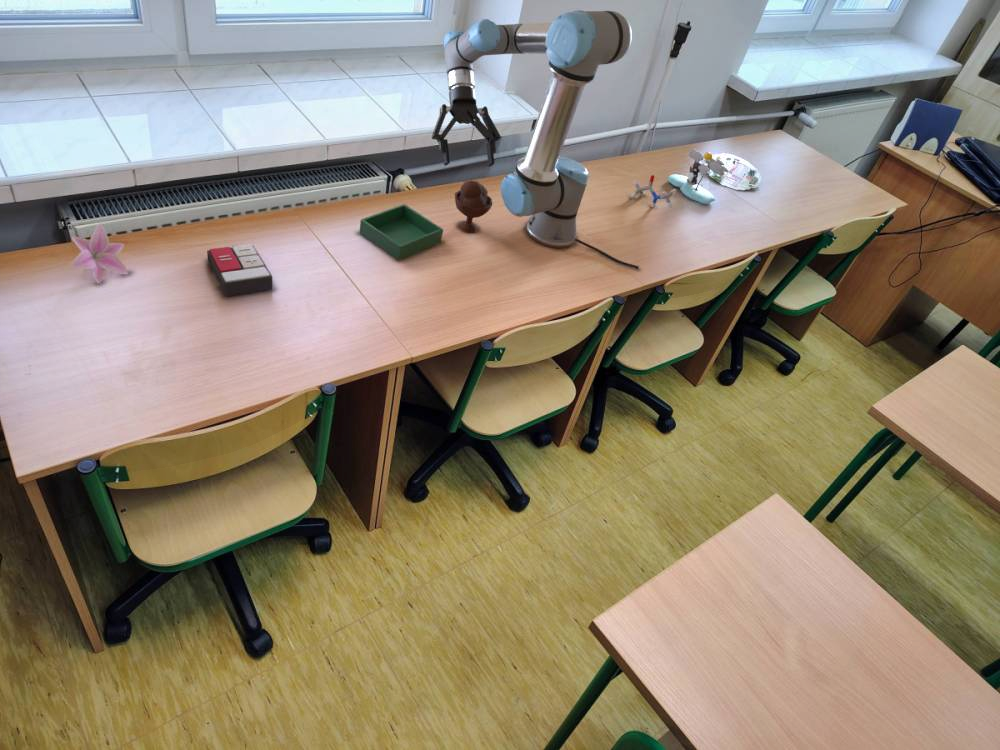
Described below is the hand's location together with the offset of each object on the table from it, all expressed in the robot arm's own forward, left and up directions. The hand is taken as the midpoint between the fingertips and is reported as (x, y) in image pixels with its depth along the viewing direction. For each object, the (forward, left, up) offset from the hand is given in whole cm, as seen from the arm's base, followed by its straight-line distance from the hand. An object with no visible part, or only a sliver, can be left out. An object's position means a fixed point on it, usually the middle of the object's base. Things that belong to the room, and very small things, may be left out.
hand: (469, 164), depth 201 cm
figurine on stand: (-34, -88, -16) cm, 96 cm away
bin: (0, +25, -16) cm, 30 cm away
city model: (-36, -118, -16) cm, 125 cm away
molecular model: (-30, -64, -16) cm, 73 cm away
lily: (+25, +94, -16) cm, 98 cm away
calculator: (+8, +70, -16) cm, 72 cm away
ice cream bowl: (-6, +4, -16) cm, 18 cm away
